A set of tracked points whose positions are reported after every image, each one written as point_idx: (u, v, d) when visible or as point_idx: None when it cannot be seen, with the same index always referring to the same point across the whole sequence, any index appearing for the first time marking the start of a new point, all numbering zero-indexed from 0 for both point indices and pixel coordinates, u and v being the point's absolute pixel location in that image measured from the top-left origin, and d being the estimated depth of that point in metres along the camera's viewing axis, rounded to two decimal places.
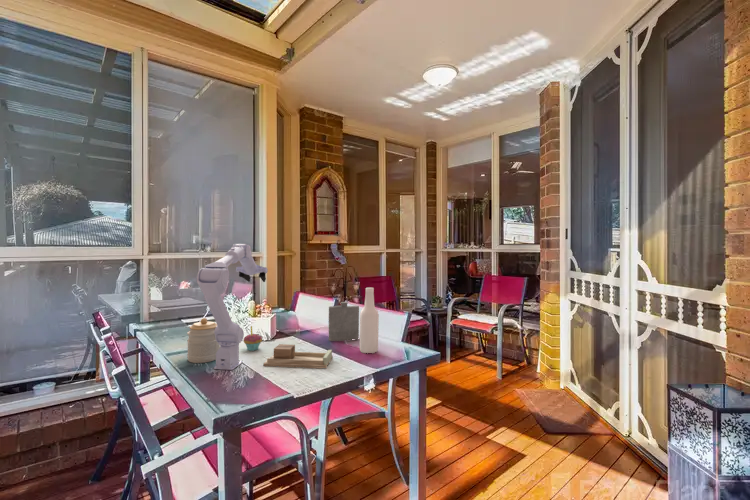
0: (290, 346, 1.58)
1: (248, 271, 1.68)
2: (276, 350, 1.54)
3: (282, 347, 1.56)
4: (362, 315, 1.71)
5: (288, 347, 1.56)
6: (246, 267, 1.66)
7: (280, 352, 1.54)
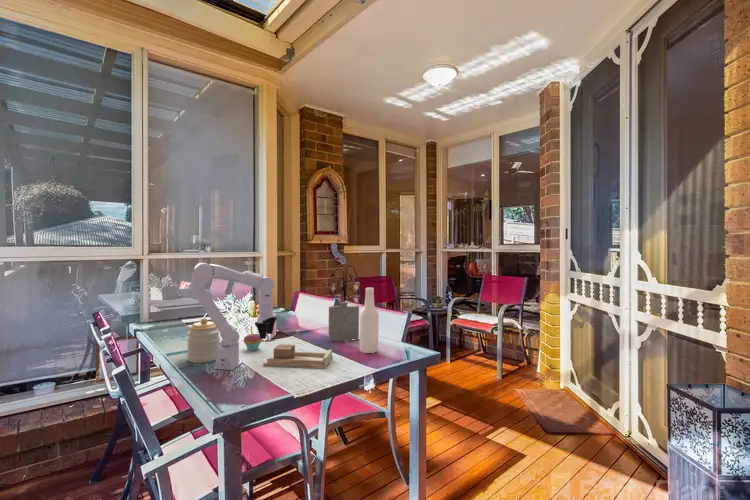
0: (290, 346, 1.58)
1: None
2: (276, 350, 1.54)
3: (282, 347, 1.56)
4: (362, 315, 1.71)
5: (288, 347, 1.56)
6: (259, 304, 1.57)
7: (280, 352, 1.54)
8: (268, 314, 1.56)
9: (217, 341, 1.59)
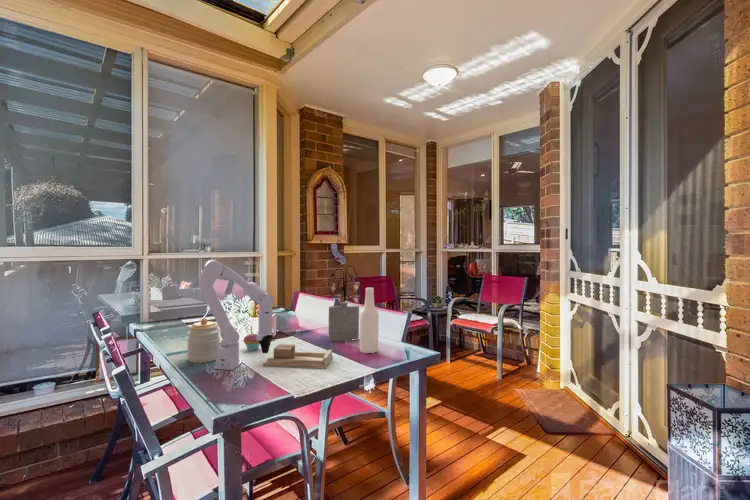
0: (290, 346, 1.58)
1: None
2: (276, 350, 1.54)
3: (282, 347, 1.56)
4: (362, 315, 1.71)
5: (288, 347, 1.56)
6: None
7: (280, 352, 1.54)
8: (267, 331, 1.56)
9: (217, 341, 1.59)
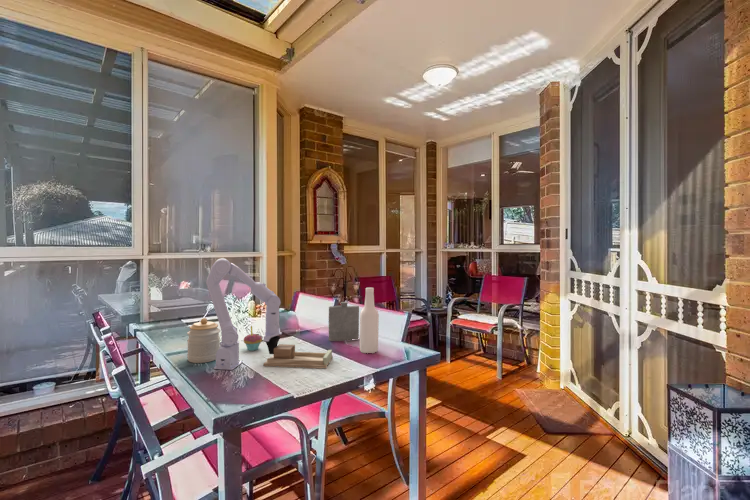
0: (290, 346, 1.58)
1: None
2: (276, 350, 1.54)
3: (282, 347, 1.56)
4: (362, 315, 1.71)
5: (288, 347, 1.56)
6: None
7: (280, 352, 1.54)
8: (274, 332, 1.56)
9: (217, 341, 1.59)
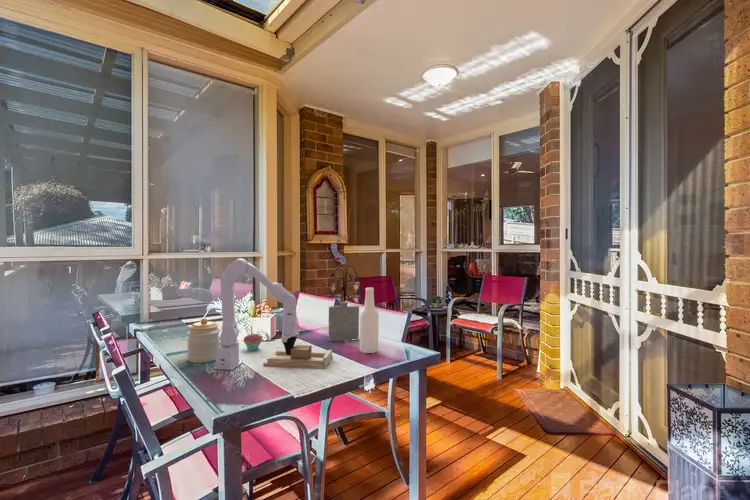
0: (307, 347, 1.58)
1: None
2: (293, 351, 1.54)
3: (299, 348, 1.56)
4: (362, 315, 1.71)
5: (305, 348, 1.55)
6: None
7: (297, 352, 1.54)
8: (292, 333, 1.55)
9: (217, 341, 1.59)
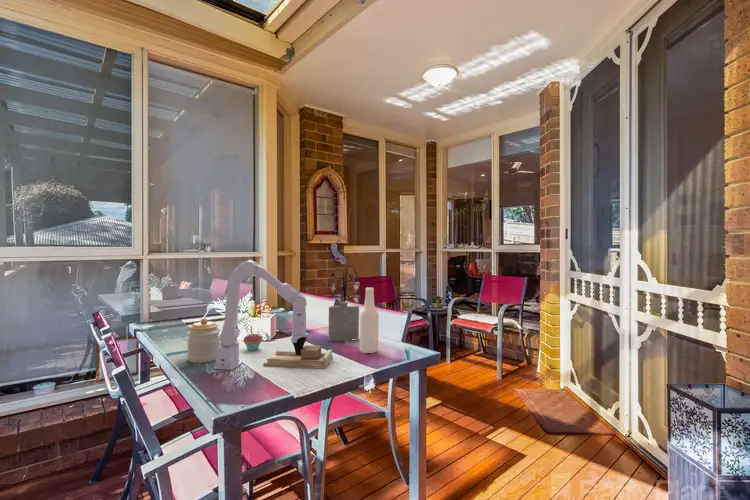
0: (317, 347, 1.57)
1: None
2: (303, 351, 1.53)
3: (309, 348, 1.55)
4: (362, 315, 1.71)
5: (315, 348, 1.55)
6: (292, 322, 1.56)
7: (307, 353, 1.53)
8: (301, 333, 1.55)
9: (217, 341, 1.59)
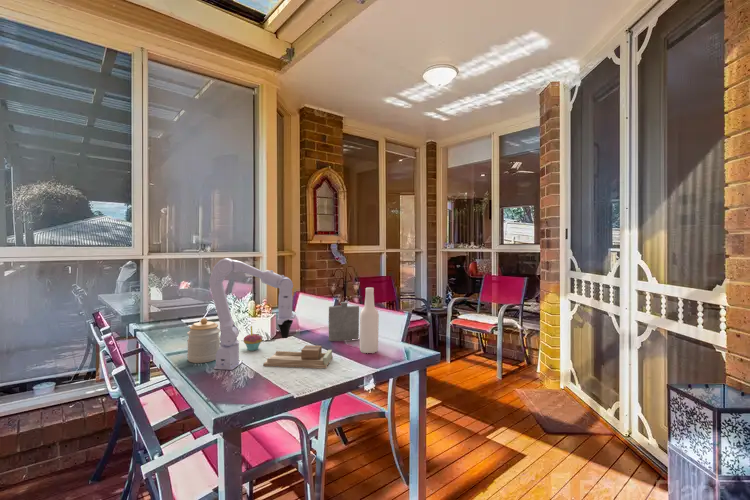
0: (317, 347, 1.57)
1: None
2: (304, 351, 1.53)
3: (310, 348, 1.55)
4: (362, 315, 1.71)
5: (316, 348, 1.55)
6: None
7: (307, 353, 1.53)
8: (287, 315, 1.55)
9: (217, 341, 1.59)
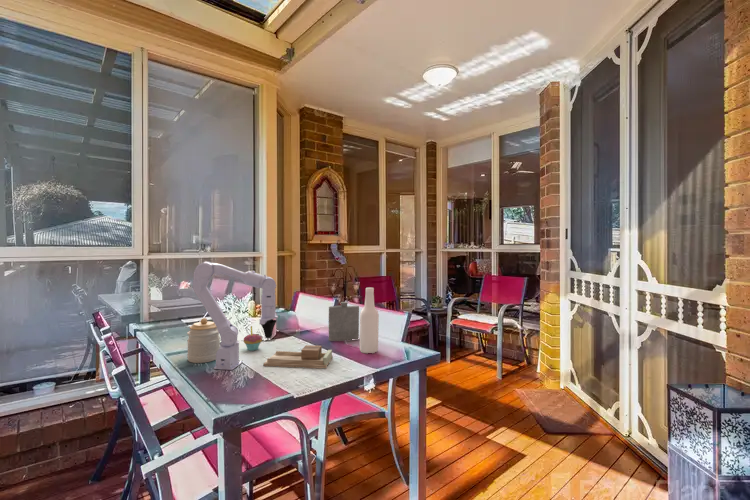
0: (317, 347, 1.57)
1: None
2: (304, 351, 1.53)
3: (310, 348, 1.55)
4: (362, 315, 1.71)
5: (316, 348, 1.55)
6: (261, 305, 1.55)
7: (307, 353, 1.53)
8: (270, 315, 1.54)
9: (217, 341, 1.59)
